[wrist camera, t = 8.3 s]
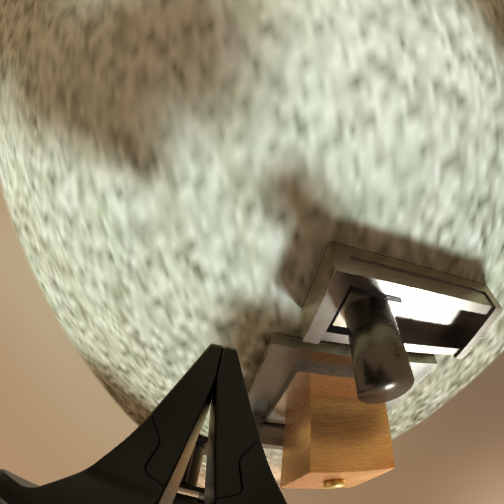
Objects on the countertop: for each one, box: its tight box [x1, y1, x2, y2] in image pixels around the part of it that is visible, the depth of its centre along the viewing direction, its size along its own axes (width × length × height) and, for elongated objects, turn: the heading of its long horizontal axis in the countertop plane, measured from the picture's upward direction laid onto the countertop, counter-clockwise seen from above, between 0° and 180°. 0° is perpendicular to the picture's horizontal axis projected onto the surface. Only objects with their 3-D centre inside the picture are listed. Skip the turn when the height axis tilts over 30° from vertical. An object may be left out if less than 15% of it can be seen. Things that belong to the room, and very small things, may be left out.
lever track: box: [302, 242, 503, 359], centre depth 13 cm, size 4×11×2 cm, turn 78°
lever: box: [332, 286, 414, 404], centre depth 11 cm, size 2×3×5 cm
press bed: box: [248, 333, 437, 450], centre depth 17 cm, size 11×12×3 cm
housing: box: [280, 385, 394, 489], centre depth 15 cm, size 6×6×6 cm
